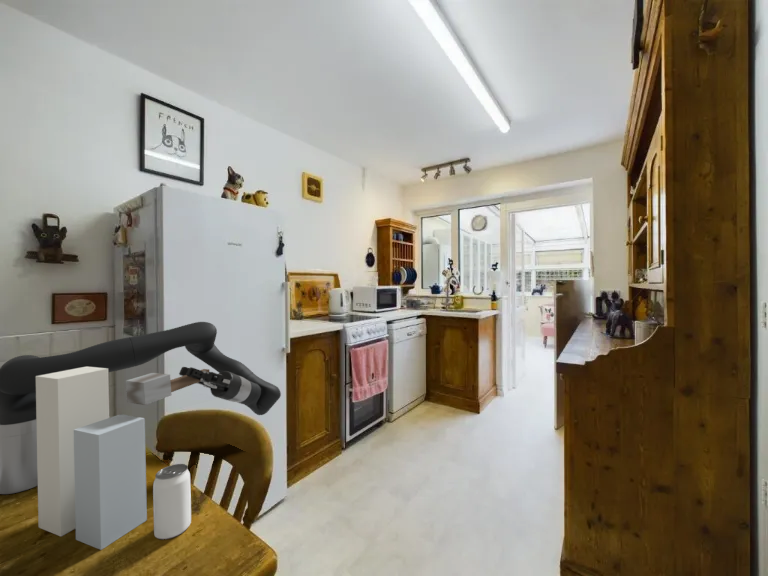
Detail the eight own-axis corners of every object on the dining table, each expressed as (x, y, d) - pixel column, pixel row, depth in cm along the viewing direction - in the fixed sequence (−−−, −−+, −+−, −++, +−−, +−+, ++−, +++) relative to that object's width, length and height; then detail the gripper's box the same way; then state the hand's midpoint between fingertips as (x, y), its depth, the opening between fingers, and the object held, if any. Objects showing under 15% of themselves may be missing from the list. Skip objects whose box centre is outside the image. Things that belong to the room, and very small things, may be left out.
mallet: (127, 402, 74) (125, 380, 73) (199, 376, 91) (198, 359, 91) (145, 405, 72) (143, 382, 71) (215, 378, 89) (214, 360, 89)
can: (173, 543, 64) (172, 481, 64) (145, 538, 65) (144, 478, 65) (198, 519, 70) (197, 464, 70) (172, 516, 71) (171, 461, 71)
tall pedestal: (38, 527, 69) (35, 376, 69) (89, 501, 77) (86, 366, 77) (60, 536, 66) (57, 379, 66) (111, 508, 74) (108, 368, 75)
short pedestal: (75, 539, 65) (73, 429, 65) (122, 512, 73) (120, 414, 73) (101, 549, 62) (98, 435, 62) (146, 520, 70) (144, 418, 70)
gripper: (219, 373, 102) (172, 355, 88) (254, 376, 97) (211, 358, 83) (209, 397, 98) (159, 383, 84) (245, 402, 94) (198, 387, 80)
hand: (185, 370), depth 84 cm, fingers closed on mallet
